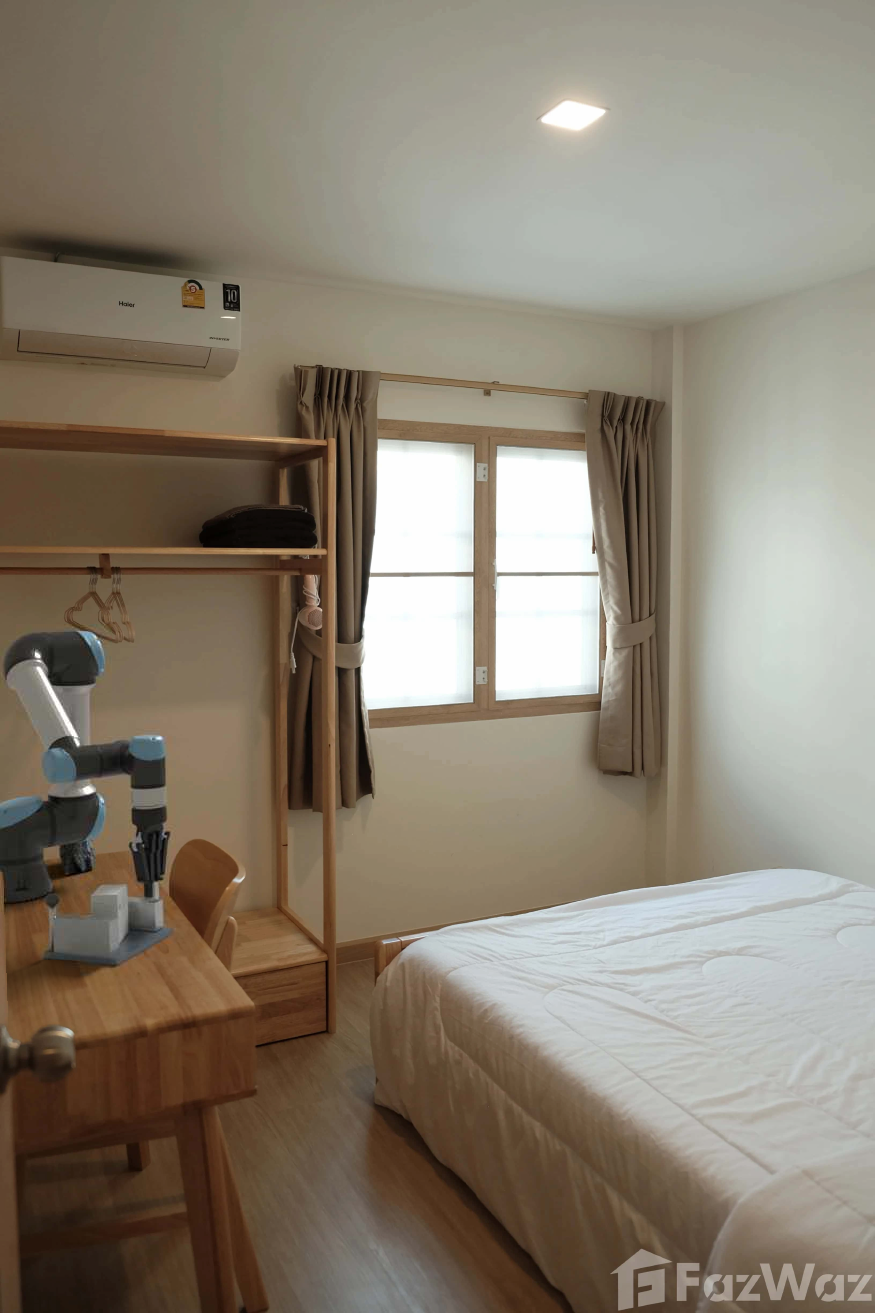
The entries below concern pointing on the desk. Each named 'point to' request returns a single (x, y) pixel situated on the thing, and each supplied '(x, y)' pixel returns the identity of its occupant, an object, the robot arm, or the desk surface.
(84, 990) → the desk surface
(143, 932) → the vise
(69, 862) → the stone block
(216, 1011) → the desk surface
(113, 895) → the small box
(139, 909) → the jaw
